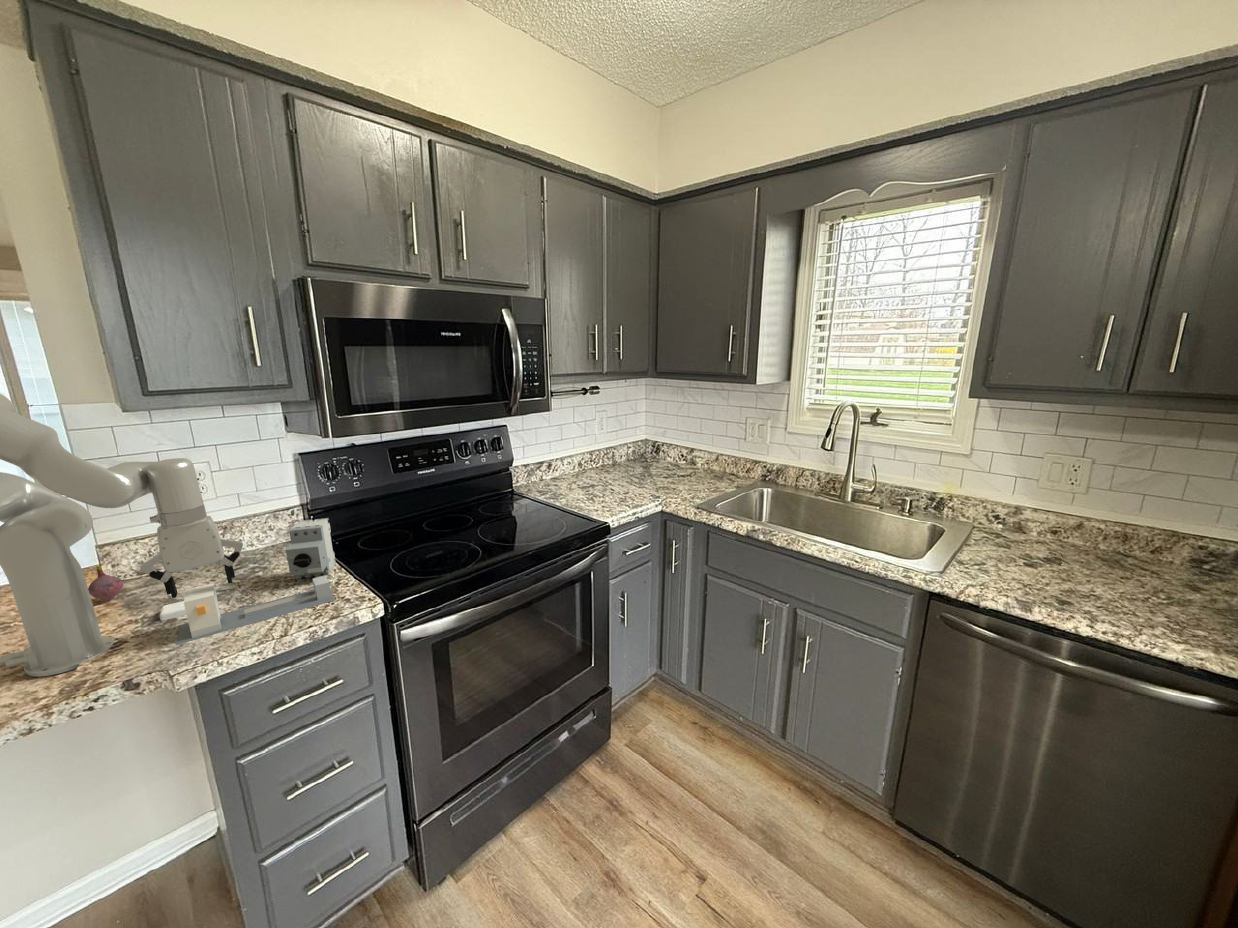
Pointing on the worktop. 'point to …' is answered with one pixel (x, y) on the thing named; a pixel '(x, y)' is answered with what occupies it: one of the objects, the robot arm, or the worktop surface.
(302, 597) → the rail
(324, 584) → the end stop
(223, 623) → the board
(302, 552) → the circuit breaker
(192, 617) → the block
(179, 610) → the soap
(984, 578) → the worktop surface
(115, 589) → the vegetable
